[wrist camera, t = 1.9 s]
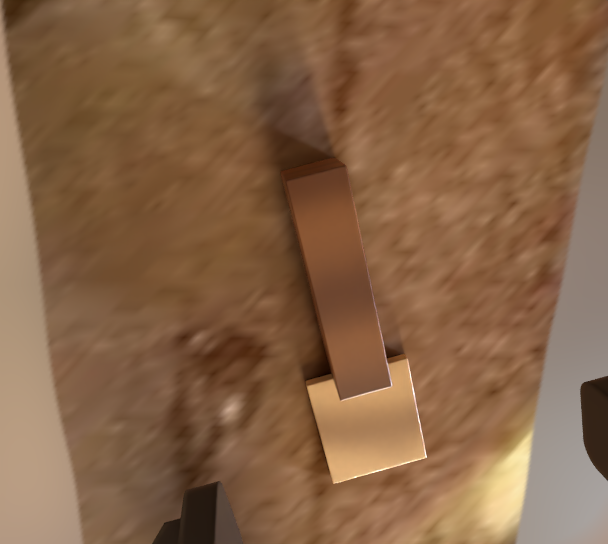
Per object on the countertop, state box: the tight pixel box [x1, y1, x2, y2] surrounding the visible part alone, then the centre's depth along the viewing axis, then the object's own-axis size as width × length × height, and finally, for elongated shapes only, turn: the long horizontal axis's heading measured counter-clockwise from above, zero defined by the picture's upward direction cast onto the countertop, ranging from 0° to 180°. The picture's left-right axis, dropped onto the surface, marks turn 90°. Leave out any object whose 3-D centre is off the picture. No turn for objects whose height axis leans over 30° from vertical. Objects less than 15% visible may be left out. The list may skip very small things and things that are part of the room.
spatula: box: [281, 157, 426, 483], centre depth 24 cm, size 16×5×2 cm, turn 13°
